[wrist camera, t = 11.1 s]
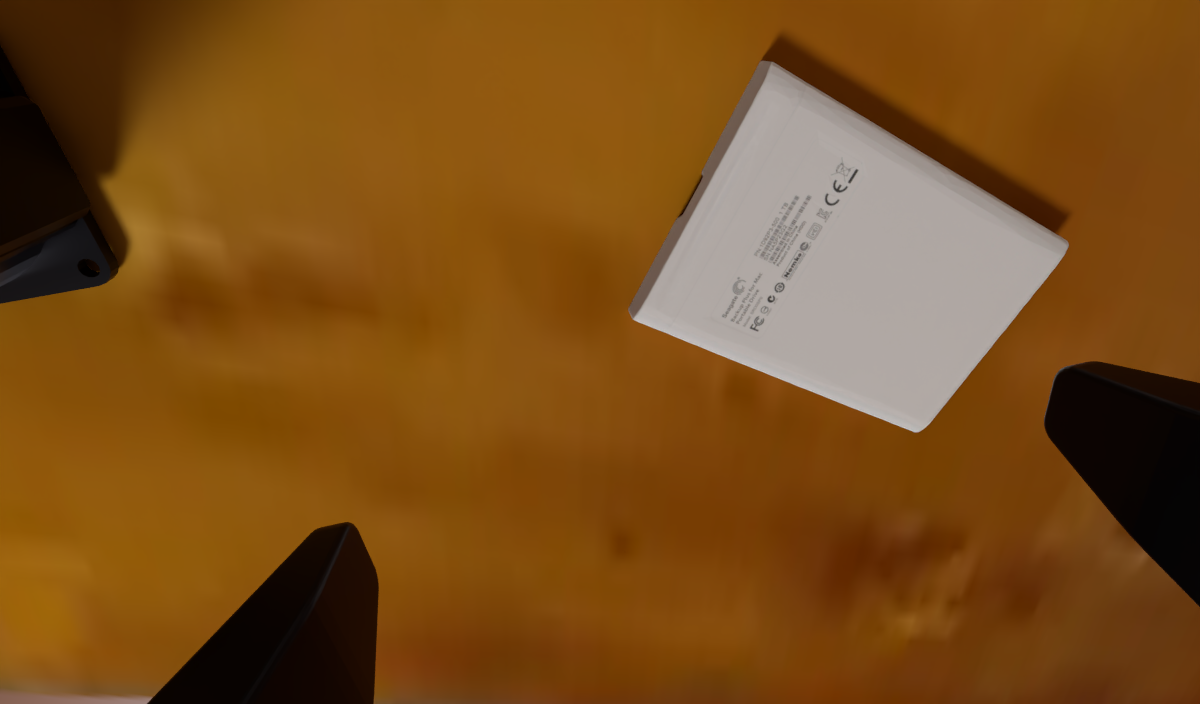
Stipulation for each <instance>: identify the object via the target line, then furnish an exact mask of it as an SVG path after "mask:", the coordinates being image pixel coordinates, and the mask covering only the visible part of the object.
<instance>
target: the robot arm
mask: <svg viewBox="0 0 1200 704" xmlns="http://www.w3.org/2000/svg"><path fill="white" fill-rule="evenodd" d="M89 208H90V201H89V200H88V198H87V196H86V194H85V192H84V190H83V188H82V187H81V185H80V183H79V181H78V179H77V177H76V175H75V174H74V172H73V170H72V168H71V166H70V164H69V162H68V161H67V159H66V157H65V155H64V153H63V151H62V149H61V148H60V146H59V144H58V142H57V140H56V138H55V137H54V135H53V133H52V131H51V129H50V127H49V125H48V124H47V122H46V120H45V118H44V116H43V114H42V112H41V111H40V109H39V107H38V106H37V105H36V104H35V103H33V102H32V101H30V99H29V97H28V96H27V94H26V92H25V90H24V88H23V86H22V85H21V83H20V81H19V79H18V77H17V75H16V74H15V72H14V70H13V68H12V66H11V64H10V62H9V61H8V59H7V57H6V55H5V53H4V51H3V50H2V48H1V46H0V303H6V302H12V301H17V300H23V299H28V298H34V297H39V296H45V295H51V294H56V293H62V292H67V291H73V290H78V289H84V288H90V287H95V286H100V285H102V284H105V283H107V282H108V281H110V280H111V279H113V278H114V277H115V276H116V274H117V273H118V268H119V266H118V263H117V260H116V258H115V256H114V254H113V252H112V250H111V249H110V247H109V245H108V243H107V241H106V239H105V237H104V236H103V234H102V232H101V230H100V228H99V226H98V225H97V223H96V221H95V219H94V217H93V215H92V214H91V212H90V210H89ZM86 259H90V260H92V261H94V262H96V264H97V265H98V266H99V268H100V272H96V271H94V270H91V269H90V268H89V266H88V265H87V262H86ZM1044 426H1045V430H1046V433H1047V435H1048V437H1049V438H1050V440H1051V441H1052V442H1053V443H1054V445H1055V446H1056V447H1057V448H1058V449H1059V451H1060V452H1061V453H1062V454H1063V455H1064V457H1065V458H1066V459H1067V460H1068V462H1069V463H1070V464H1071V465H1072V466H1073V468H1074V469H1075V470H1076V471H1077V472H1078V474H1079V475H1080V476H1081V477H1082V478H1083V480H1084V481H1085V482H1086V483H1087V485H1088V486H1089V487H1090V488H1091V489H1092V491H1093V492H1094V493H1095V494H1096V495H1097V497H1098V498H1099V499H1100V500H1101V501H1102V503H1103V504H1104V505H1105V506H1106V508H1107V509H1108V510H1109V511H1110V512H1111V514H1112V515H1113V516H1114V517H1115V518H1116V520H1117V521H1118V522H1119V523H1120V524H1121V525H1122V527H1123V528H1124V529H1125V530H1126V531H1127V532H1128V534H1129V535H1130V536H1131V537H1132V538H1133V539H1134V540H1135V541H1136V542H1137V543H1138V544H1139V545H1140V546H1141V547H1142V549H1143V550H1144V551H1145V552H1146V553H1147V554H1148V555H1149V556H1150V557H1151V558H1152V559H1153V560H1154V561H1155V562H1156V563H1157V564H1158V565H1159V566H1160V567H1161V568H1162V569H1163V570H1164V571H1165V572H1166V573H1167V574H1168V575H1169V576H1170V577H1171V578H1172V579H1173V580H1174V581H1175V582H1176V583H1177V584H1178V585H1179V586H1180V587H1181V588H1182V589H1183V590H1184V591H1185V592H1186V593H1187V594H1188V595H1189V596H1190V597H1191V598H1192V599H1193V600H1194V602H1195V603H1196V604H1197V605H1198V606H1199V607H1200V383H1197V382H1192V381H1188V380H1183V379H1178V378H1174V377H1169V376H1164V375H1159V374H1155V373H1150V372H1145V371H1141V370H1136V369H1131V368H1127V367H1122V366H1117V365H1113V364H1108V363H1103V362H1097V361H1091V362H1085V363H1080V364H1076V365H1071V366H1067V367H1064V368H1062V369H1060V370H1059V372H1058V373H1057V374H1056V375H1055V378H1054V381H1053V385H1052V389H1051V393H1050V397H1049V401H1048V405H1047V409H1046V413H1045V418H1044ZM378 591H379V586H378V577H377V573H376V569H375V567H374V565H373V562H372V560H371V558H370V556H369V554H368V551H367V549H366V547H365V545H364V542H363V540H362V538H361V536H360V533H359V531H358V529H357V528H356V527H355V526H354V524H352V523H349V522H344V523H339V524H334V525H330V526H325V527H321V528H318V529H316V530H314V531H313V532H312V533H311V534H310V535H309V536H308V537H307V538H306V539H305V540H304V541H303V542H302V543H301V544H300V545H299V546H298V547H297V548H296V549H295V550H294V551H293V553H292V554H291V555H290V556H289V557H288V558H287V559H286V560H285V561H284V562H283V563H282V564H281V565H280V566H279V567H278V568H277V569H276V570H275V571H274V572H273V573H272V574H271V575H270V576H269V577H268V578H267V580H266V581H265V582H264V583H263V584H262V585H261V586H260V587H259V588H258V589H257V590H256V591H255V592H254V593H253V594H252V595H251V596H250V597H249V598H248V599H247V600H246V601H245V602H244V603H243V604H242V606H241V607H240V608H239V609H238V610H237V611H236V612H235V613H234V614H233V615H232V616H231V617H230V618H229V619H228V620H227V621H226V622H225V623H224V624H223V625H222V626H221V627H220V628H219V629H218V630H217V632H216V633H215V634H214V635H213V636H212V637H211V638H210V639H209V640H208V641H207V642H206V643H205V644H204V645H203V646H202V647H201V648H200V649H199V650H198V651H197V652H196V653H195V654H194V655H193V656H192V658H191V659H190V660H189V661H188V662H187V663H186V664H185V665H184V666H183V667H182V668H181V669H180V670H179V671H178V672H177V673H176V674H175V675H174V676H173V677H172V678H171V679H170V680H169V681H168V682H167V684H166V685H165V686H164V687H163V688H162V689H161V690H160V691H159V692H158V693H157V694H156V695H155V696H154V697H153V698H152V699H151V700H150V701H149V702H148V703H147V704H373V703H374V684H375V661H376V638H377V615H378Z"/></svg>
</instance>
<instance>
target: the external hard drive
mask: <svg viewBox="0 0 1200 704" xmlns="http://www.w3.org/2000/svg"><path fill="white" fill-rule="evenodd" d="M702 176H703V178H702V180H701V182H700V184H699V186H698V188H697V189H696V191H695V193H694V195H693V197H692V199H691V200H690V202H689V204H688V206H687V208H686V210H685V212H684V213H683V215H682V216H679V217H678V218H677V219H676V221H675V223H674V224H673V226H672V228H671V230H670V232H669V234H668V236H667V238H666V239H665V241H664V243H663V245H662V247H661V249H660V251H659V253H658V254H657V256H656V258H655V260H654V262H653V264H652V266H651V267H650V269H649V271H648V273H647V275H646V277H645V279H644V281H643V282H642V284H641V286H640V288H639V290H638V292H637V294H636V295H635V297H634V299H633V301H632V303H631V305H630V307H629V309H628V311H629V313H630V315H631V317H632V319H633V320H635V321H637V322H639V323H642V324H645V325H647V326H650V327H652V328H654V329H657V330H660V331H662V332H665V333H668V334H670V335H672V336H674V337H677V338H679V339H682V340H684V341H687V342H689V343H692V344H694V345H697V346H699V347H702V348H704V349H707V350H709V351H711V352H714V353H716V354H719V355H721V356H724V357H726V358H729V359H731V360H734V361H736V362H739V363H741V364H744V365H746V366H749V367H751V368H754V369H756V370H759V371H762V372H764V373H766V374H769V375H771V376H774V377H777V378H779V379H781V380H784V381H787V382H789V383H792V384H794V385H796V386H799V387H801V388H804V389H807V390H809V391H812V392H814V393H817V394H819V395H822V396H824V397H827V398H829V399H832V400H834V401H837V402H839V403H842V404H844V405H847V406H849V407H852V408H854V409H857V410H859V411H862V412H865V413H867V414H870V415H872V416H875V417H878V418H880V419H883V420H885V421H888V422H890V423H892V424H895V425H898V426H900V427H903V428H905V429H908V430H910V431H913V432H919V431H921V430H923V429H924V428H925V427H927V426H928V425H929V424H930V422H931V421H932V420H933V419H934V417H935V416H936V415H937V414H938V412H939V411H940V410H941V409H942V408H943V406H944V405H945V404H946V403H947V401H948V400H949V399H950V398H951V396H952V395H953V394H954V393H955V391H956V390H957V389H958V388H959V386H960V385H961V384H962V383H963V381H964V380H965V379H966V378H967V376H968V375H969V374H970V373H971V371H972V370H973V369H974V368H975V366H976V365H977V364H978V363H979V362H980V360H981V359H982V358H983V356H984V355H985V354H986V353H987V352H988V350H989V349H990V348H991V347H992V345H993V344H994V343H995V341H996V340H997V339H998V338H999V336H1000V335H1001V334H1002V333H1003V332H1004V331H1005V330H1006V328H1007V327H1008V326H1009V325H1010V323H1011V322H1012V321H1013V320H1014V318H1015V317H1016V316H1017V315H1018V313H1019V312H1020V311H1021V309H1022V308H1023V307H1024V305H1025V304H1026V303H1027V302H1028V301H1029V300H1030V299H1031V297H1032V296H1033V294H1034V293H1035V292H1036V291H1037V290H1038V288H1039V287H1040V286H1041V285H1042V283H1043V282H1044V281H1045V280H1046V279H1047V277H1048V276H1049V275H1050V273H1051V272H1052V271H1053V270H1054V269H1055V267H1056V266H1057V265H1058V263H1059V262H1060V260H1061V259H1062V257H1063V256H1064V255H1065V253H1066V250H1067V248H1068V247H1069V244H1068V242H1067V241H1066V240H1065V239H1063V238H1062V237H1060V236H1058V235H1057V234H1055V233H1053V232H1052V231H1050V230H1049V229H1047V228H1045V227H1044V226H1042V225H1040V224H1039V223H1037V222H1035V221H1034V220H1032V219H1031V218H1029V217H1027V216H1026V215H1024V214H1022V213H1021V212H1019V211H1017V210H1016V209H1014V208H1013V207H1011V206H1009V205H1008V204H1006V203H1004V202H1003V201H1001V200H999V199H998V198H996V197H995V196H993V195H991V194H990V193H988V192H986V191H985V190H983V189H981V188H980V187H978V186H976V185H975V184H973V183H972V182H970V181H968V180H967V179H965V178H963V177H962V176H960V175H958V174H957V173H955V172H953V171H952V170H950V169H948V168H947V167H945V166H943V165H942V164H940V163H938V162H937V161H935V160H934V159H932V158H930V157H929V156H927V155H925V154H924V153H922V152H921V151H919V150H917V149H916V148H914V147H912V146H911V145H909V144H907V143H906V142H904V141H902V140H901V139H899V138H898V137H896V136H894V135H893V134H891V133H889V132H888V131H886V130H884V129H883V128H881V127H879V126H878V125H876V124H875V123H873V122H871V121H870V120H868V119H866V118H865V117H863V116H861V115H860V114H858V113H856V112H855V111H853V110H851V109H850V108H848V107H847V106H845V105H843V104H841V103H840V102H838V101H836V100H835V99H833V98H832V97H830V96H828V95H827V94H825V93H823V92H822V91H820V90H818V89H817V88H815V87H813V86H812V85H810V84H808V83H806V82H805V81H803V80H802V79H800V78H798V77H797V76H795V75H794V74H792V73H791V72H789V71H787V70H785V69H784V68H782V67H780V66H779V65H777V64H776V63H774V62H769V61H761V62H760V63H759V65H758V67H757V69H756V71H755V72H754V74H753V76H752V78H751V80H750V82H749V84H748V86H747V88H746V90H745V91H744V93H743V95H742V97H741V99H740V101H739V103H738V105H737V106H736V108H735V110H734V112H733V114H732V116H731V118H730V120H729V121H728V123H727V125H726V127H725V129H724V131H723V133H722V135H721V136H720V138H719V140H718V142H717V144H716V146H715V148H714V150H713V151H712V153H711V155H710V157H709V159H708V161H707V163H706V165H705V167H704V169H703V170H702Z"/></svg>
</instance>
